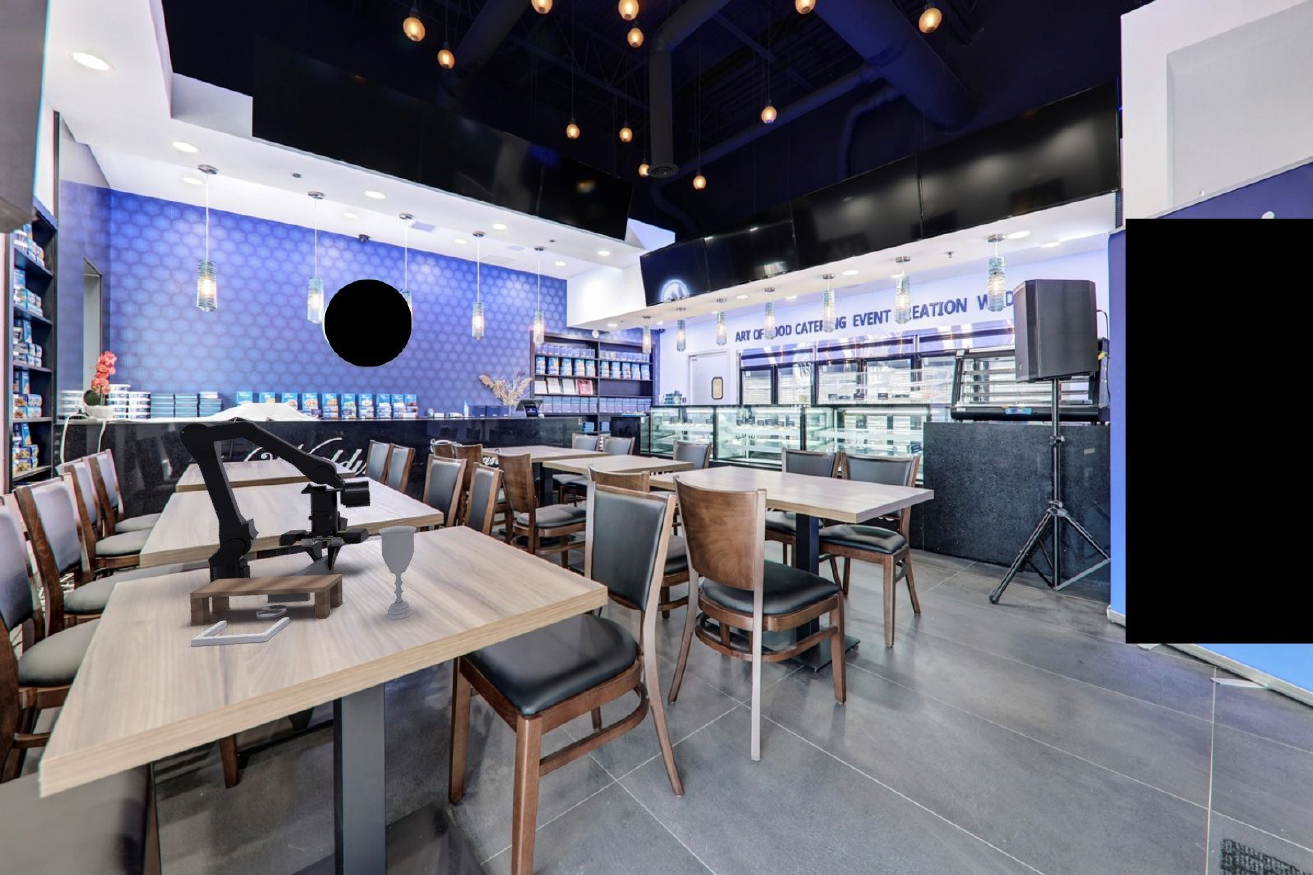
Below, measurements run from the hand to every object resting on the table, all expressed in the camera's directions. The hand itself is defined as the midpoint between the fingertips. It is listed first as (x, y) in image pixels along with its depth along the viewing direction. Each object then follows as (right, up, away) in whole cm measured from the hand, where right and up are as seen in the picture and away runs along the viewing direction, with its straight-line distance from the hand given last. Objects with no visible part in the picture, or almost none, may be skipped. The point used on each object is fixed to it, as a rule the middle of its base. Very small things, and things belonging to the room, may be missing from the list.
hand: (325, 569), depth 129 cm
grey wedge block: (+1, -2, -7) cm, 8 cm away
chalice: (+31, -3, -23) cm, 39 cm away
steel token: (+4, -3, -24) cm, 25 cm away
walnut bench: (+4, -3, -24) cm, 25 cm away
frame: (+6, -3, -33) cm, 34 cm away
